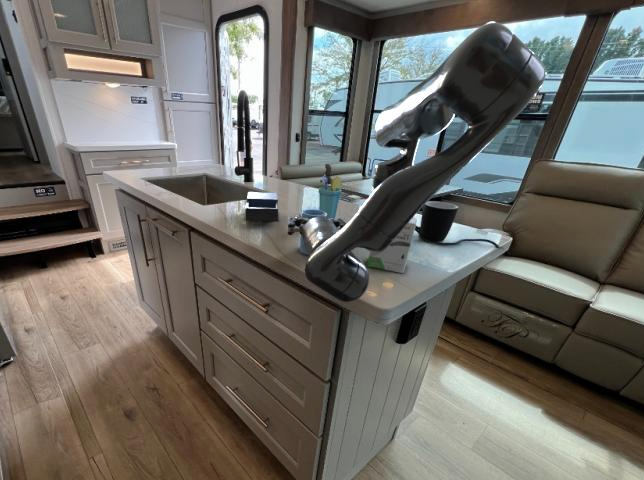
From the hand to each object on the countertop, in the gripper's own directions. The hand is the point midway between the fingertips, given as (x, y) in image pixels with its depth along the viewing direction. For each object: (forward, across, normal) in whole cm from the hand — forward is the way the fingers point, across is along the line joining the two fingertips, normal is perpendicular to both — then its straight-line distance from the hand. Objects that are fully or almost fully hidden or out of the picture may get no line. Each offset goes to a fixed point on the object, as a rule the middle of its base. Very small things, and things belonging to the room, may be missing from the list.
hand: (312, 218), depth 80 cm
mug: (+11, -37, +8) cm, 39 cm away
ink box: (-11, -17, +8) cm, 22 cm away
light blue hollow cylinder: (-2, 0, +8) cm, 8 cm away
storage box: (+25, +13, +8) cm, 29 cm away
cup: (+24, -8, +8) cm, 27 cm away
